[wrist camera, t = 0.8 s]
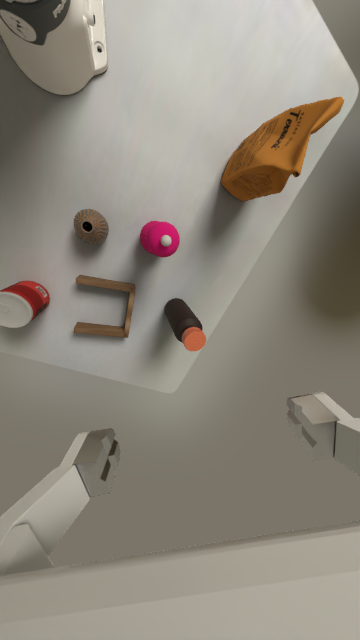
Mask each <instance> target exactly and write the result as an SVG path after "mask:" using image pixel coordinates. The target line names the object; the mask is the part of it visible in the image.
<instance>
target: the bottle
mask: <svg viewBox="0 0 360 640" xmlns="http://www.w3.org/2000/svg"><path fill="white" fill-rule="evenodd" d="M165 313H166V316H167V318H168V320H169V323H170V325H171V327H172V329H173V332H174V334H175V336H176V338H177V339H178V340H179V341H180V342H183V344H184V346H185V348H186V349H188V350H189V351H198V350H199V349H201V348H202V347H203V346H204V345H205V342H206V337H205V335H204V333H203V332H202V325H201V323H200V321H199V320H198V318H197V317H196V316H195V315H194V313H193V312H192V311H191V309H190V308H189V307H188V306H187V304H186V303H185V302H184V301H183V300H181V299H177V298H175V299H172V300H170V301H169V302H168V303H167V304H166V306H165Z"/></svg>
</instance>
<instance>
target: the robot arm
mask: <svg viewBox="0 0 360 640" xmlns="http://www.w3.org/2000/svg"><path fill="white" fill-rule="evenodd" d="M0 35H1V37H2V38H3V40H4V42H5V44H6V46H7V48H8V50H9V52H10V54H11V56H12V57H13V59H14V60H15V62H16V63H17V65H18V66H19V68H20V69H21V70H22V71H23V72H24V73H25V74H26V76H27V77H28V78H29V79H31V80H32V81H33V82H34V83H35V84H37V85H38V86H40V87H41V88H43V89H45V90H47V91H49V92H51V93H55V94H59V95H69V94H73V93H76V92H78V91H80V90H81V89H82V88H83V87H84V86H85V85H86V84H87V83H88V81H89V80H90V79H91V78H92V77H93V76H95V75H98V74H101V73H103V72H105V71H106V70H107V68H108V56H107V42H106V29H105V15H104V2H103V0H0ZM98 49H101V50H102V52H101V53H99V52H98ZM287 406H288V407H289V409H290V410H289V411H288V413H287V420H288V423H289V426H290V428H291V430H292V432H293V433H294V435H295V436H296V437H298V438H300V439H301V440H302V446H303V448H304V449H305V450H306V452H307V453H308V455H309V456H310V457H311V459H312V460H321V459H328V458H335V460H337V461H338V462H340V463H341V464H343V465H344V466H346V467H347V468H348V469H350V470H351V471H353V472H354V473H356V474H357V475H359V476H360V419H359V418H353V417H352V416H350V415H349V414H348V413H347V412H346V411H344V409H342V408H341V407H340V406H339V405H338V404H337V403H335V402H334V401H333V400H332V399H331V398H329V397H328V396H327V395H326V394H325V393H323V392H317V393H312V394H307V395H302V396H296V397H290V398H288V399H287ZM114 437H115V433H114V430H113V429H111V428H109V429H102V430H96V431H90V432H84V433H80V434H78V435H77V437H76V439H75V440H74V442H73V444H72V445H71V447H70V449H69V451H68V452H67V454H66V456H65V458H64V460H63V461H62V463H61V465H60V466H59V468H55V469H54V470H53V471H52V472H51V473H49V474H48V475H47V476H46V477H45V478H44V479H43V480H42V481H40V482H39V483H38V484H37V485H36V486H35V487H34V488H33V489H31V490H30V491H29V492H28V493H27V494H26V495H25V496H24V497H22V498H21V499H20V500H19V501H18V502H17V503H16V504H14V505H13V506H12V507H11V508H10V509H9V510H8V511H6V512H5V513H4V514H3V515H2V516H1V517H0V640H360V520H359V521H352V522H346V523H340V524H334V525H327V526H320V527H314V528H307V529H301V530H294V531H288V532H282V533H275V534H268V535H262V536H256V537H249V538H243V539H236V540H229V541H223V542H216V543H210V544H204V545H197V546H191V547H185V548H178V549H172V550H165V551H159V552H152V553H146V554H139V555H133V556H126V557H120V558H114V559H107V560H100V561H95V562H87V563H81V564H75V565H69V566H62V567H55V566H54V564H53V563H52V561H51V560H50V558H49V557H48V556H49V554H50V553H51V552H52V550H53V549H54V548H55V546H56V545H57V543H58V542H59V541H60V539H61V538H62V537H63V535H64V534H65V532H66V531H67V530H68V528H69V527H70V525H71V524H72V523H73V521H74V520H75V519H76V517H77V516H78V515H79V513H80V512H81V510H82V509H83V508H84V506H85V505H86V503H87V502H88V501H89V500H90V497H95V496H100V495H105V494H110V492H111V489H112V485H113V481H114V478H115V475H114V472H113V471H114V470H115V469H116V467H117V466H118V463H119V460H120V447H119V443H118V442H117V441H116V440H115V439H114Z"/></svg>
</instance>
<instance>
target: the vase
mask: <svg viewBox="0 0 360 640" xmlns="http://www.w3.org/2000/svg"><path fill="white" fill-rule="evenodd" d="M74 229H75V232H76V233H77V235H78V236H79V237H80V238H81V239H82V240H83V241H85V242H87V243H90V244H98V243H101V242H103V241H104V240H105V239H106V237H107V235H108V231H109V228H108V224H107V221H106V219H105V218H104V217H103V216H102V215H101V214H100V213H99V212H97V211H95V210H92V209H84V210H81V211H80V212H78V213H77V214H76V216H75V218H74Z"/></svg>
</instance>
